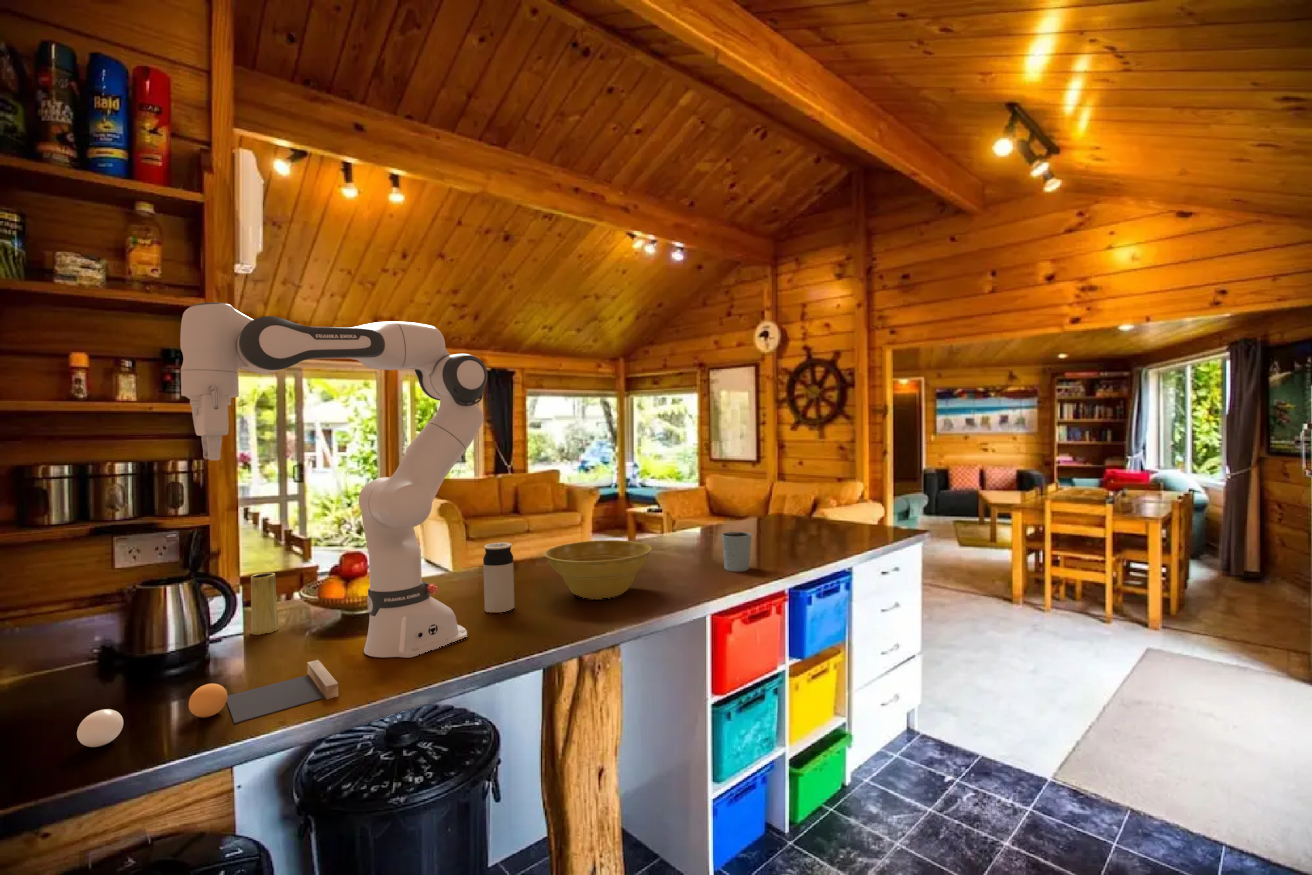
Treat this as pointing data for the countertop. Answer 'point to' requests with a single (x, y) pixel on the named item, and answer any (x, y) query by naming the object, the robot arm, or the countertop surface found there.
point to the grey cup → (736, 551)
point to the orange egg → (208, 700)
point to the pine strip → (323, 679)
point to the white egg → (100, 728)
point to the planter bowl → (598, 566)
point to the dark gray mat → (273, 698)
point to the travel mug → (498, 577)
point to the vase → (263, 604)
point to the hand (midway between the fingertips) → (211, 459)
